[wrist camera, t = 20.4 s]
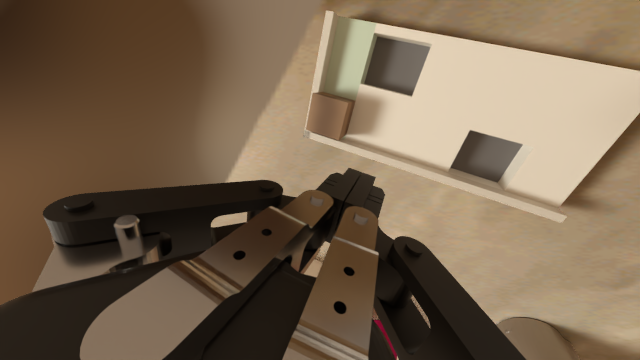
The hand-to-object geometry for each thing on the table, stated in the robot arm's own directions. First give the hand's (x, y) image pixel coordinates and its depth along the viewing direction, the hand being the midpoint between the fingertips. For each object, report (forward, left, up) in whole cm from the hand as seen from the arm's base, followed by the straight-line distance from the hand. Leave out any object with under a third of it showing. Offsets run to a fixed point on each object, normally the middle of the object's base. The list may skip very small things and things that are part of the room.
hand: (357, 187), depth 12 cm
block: (+9, +1, -22) cm, 24 cm away
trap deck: (-5, -3, -25) cm, 26 cm away
